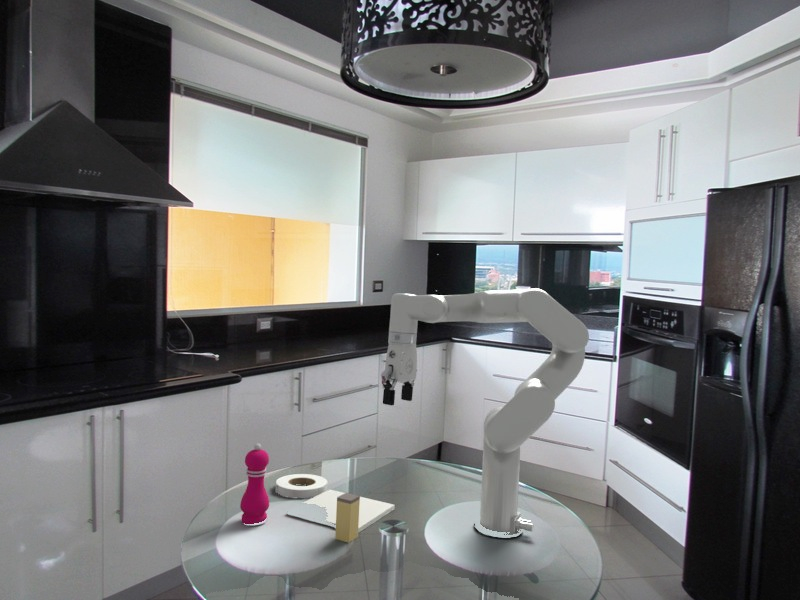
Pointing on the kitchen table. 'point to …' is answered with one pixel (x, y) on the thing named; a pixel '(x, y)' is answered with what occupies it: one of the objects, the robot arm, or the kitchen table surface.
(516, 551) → the kitchen table surface
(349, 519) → the block
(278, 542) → the kitchen table surface
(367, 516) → the board
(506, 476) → the robot arm
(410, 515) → the kitchen table surface
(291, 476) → the object
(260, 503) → the pepper mill
